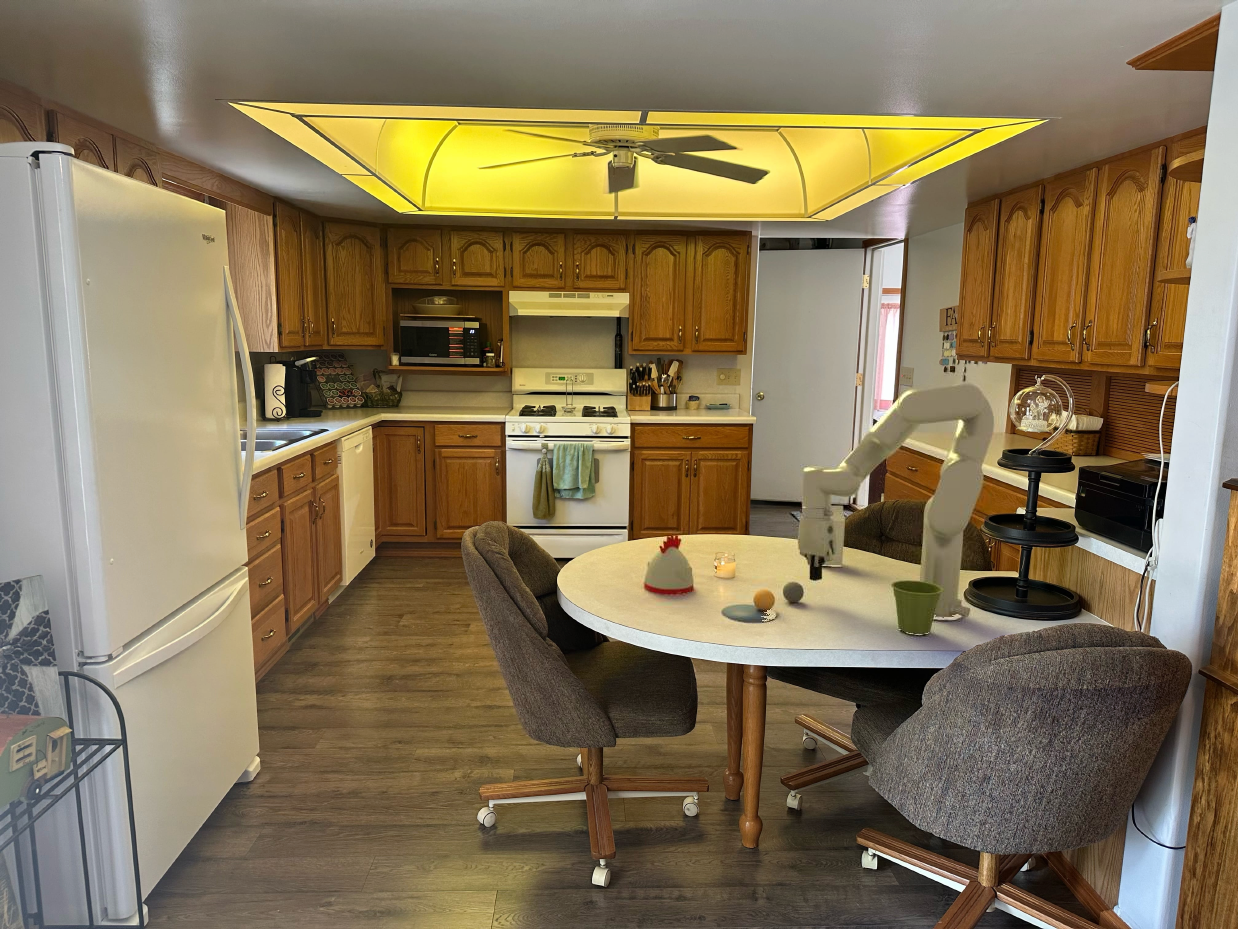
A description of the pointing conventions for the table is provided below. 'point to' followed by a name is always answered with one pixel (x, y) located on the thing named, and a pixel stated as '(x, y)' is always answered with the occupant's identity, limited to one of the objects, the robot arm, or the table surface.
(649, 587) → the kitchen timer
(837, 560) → the milk carton
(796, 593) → the gray ball
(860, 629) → the table surface
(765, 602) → the object ball
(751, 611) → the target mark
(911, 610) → the plant pot
